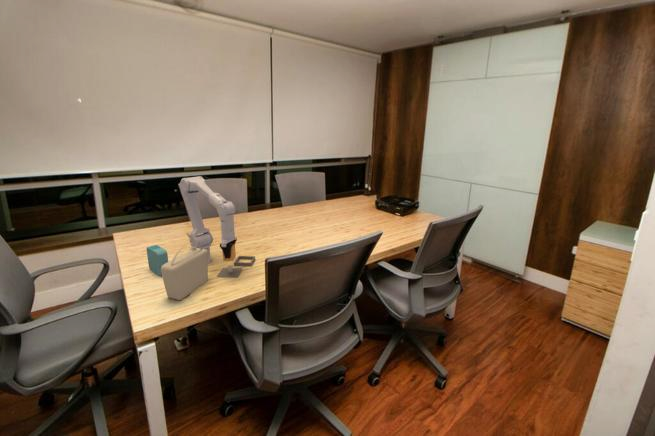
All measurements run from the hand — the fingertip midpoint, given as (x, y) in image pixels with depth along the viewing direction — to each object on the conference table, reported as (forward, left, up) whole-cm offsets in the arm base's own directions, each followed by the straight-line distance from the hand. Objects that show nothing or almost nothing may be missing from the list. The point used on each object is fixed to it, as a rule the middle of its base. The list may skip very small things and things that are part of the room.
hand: (229, 255), depth 152 cm
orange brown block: (0, 0, -2) cm, 2 cm away
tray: (+4, +12, -9) cm, 16 cm away
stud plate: (0, 0, -9) cm, 9 cm away
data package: (-34, 0, -10) cm, 35 cm away
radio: (-14, -16, -10) cm, 23 cm away
